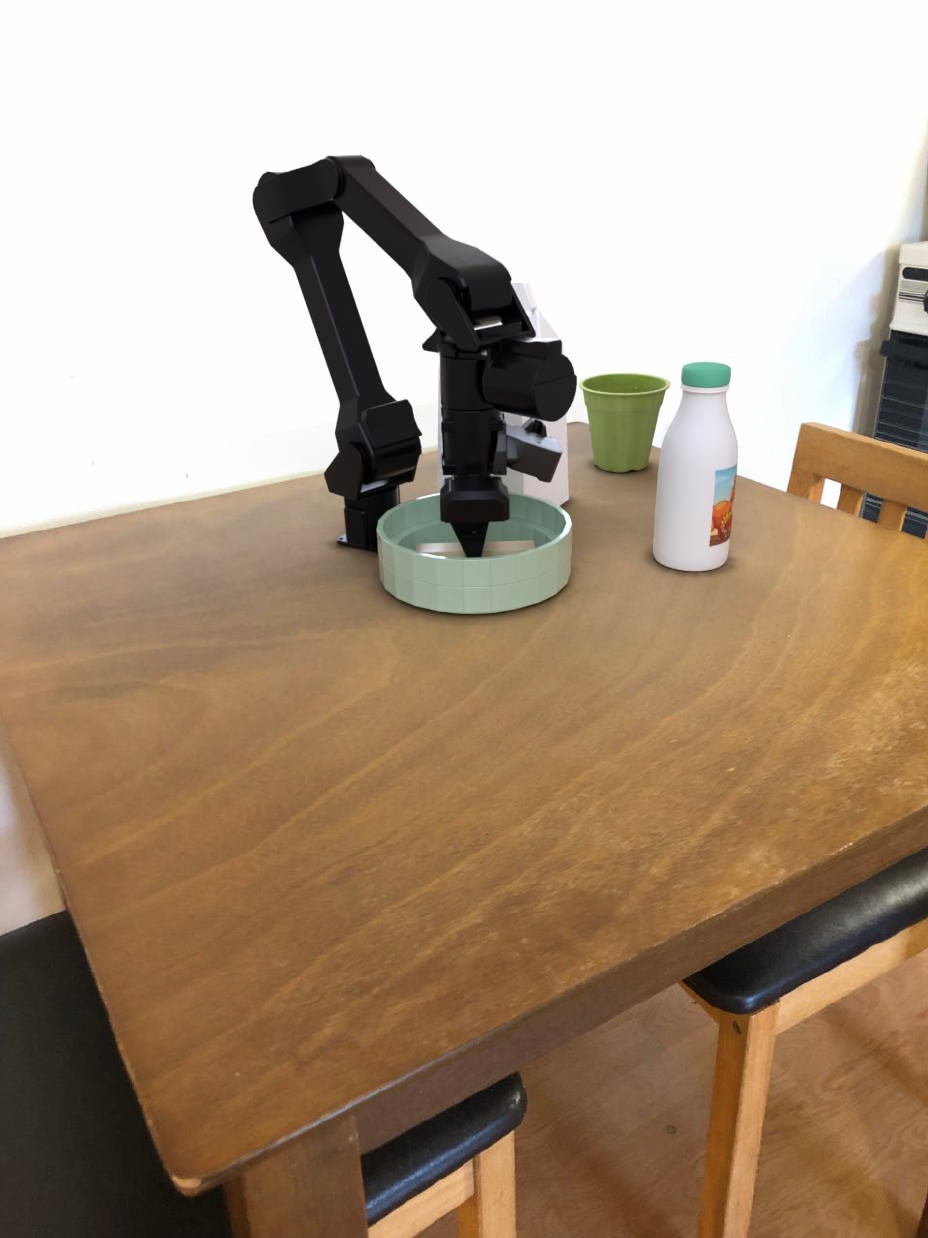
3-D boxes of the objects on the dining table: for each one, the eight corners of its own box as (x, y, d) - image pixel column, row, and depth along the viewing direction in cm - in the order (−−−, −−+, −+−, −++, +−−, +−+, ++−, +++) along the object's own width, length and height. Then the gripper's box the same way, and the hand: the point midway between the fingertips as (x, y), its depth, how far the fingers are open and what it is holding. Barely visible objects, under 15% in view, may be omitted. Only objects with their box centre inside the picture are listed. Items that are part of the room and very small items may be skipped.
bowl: (442, 530, 107) (440, 480, 104) (598, 559, 98) (601, 505, 96) (343, 595, 92) (338, 538, 89) (517, 635, 83) (517, 574, 81)
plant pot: (575, 452, 133) (578, 372, 128) (660, 453, 131) (666, 372, 126) (576, 478, 122) (579, 392, 117) (668, 479, 121) (675, 392, 116)
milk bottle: (684, 579, 93) (701, 377, 84) (637, 553, 99) (649, 363, 90) (743, 563, 96) (766, 367, 87) (694, 539, 103) (711, 354, 94)
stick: (416, 574, 94) (415, 552, 93) (416, 565, 96) (415, 543, 95) (535, 571, 94) (535, 549, 93) (533, 561, 96) (533, 540, 95)
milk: (436, 512, 112) (427, 284, 101) (485, 484, 121) (481, 272, 109) (524, 529, 107) (525, 290, 95) (568, 499, 115) (574, 276, 103)
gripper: (568, 428, 79) (564, 594, 86) (548, 379, 96) (545, 522, 103) (436, 431, 79) (443, 598, 86) (439, 382, 96) (444, 525, 103)
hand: (474, 557), depth 94 cm, fingers closed on stick, 2 cm apart
